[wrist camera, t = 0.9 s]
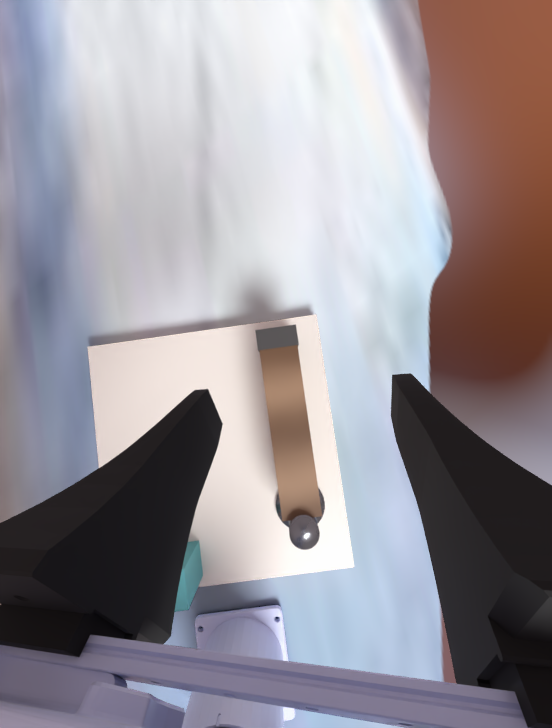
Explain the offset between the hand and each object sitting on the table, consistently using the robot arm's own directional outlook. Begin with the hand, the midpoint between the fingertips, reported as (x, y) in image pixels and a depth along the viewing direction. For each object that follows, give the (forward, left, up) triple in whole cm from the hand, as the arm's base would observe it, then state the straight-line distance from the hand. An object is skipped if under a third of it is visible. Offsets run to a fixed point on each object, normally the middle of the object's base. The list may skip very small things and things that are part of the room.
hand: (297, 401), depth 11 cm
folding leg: (-3, 0, -15) cm, 15 cm away
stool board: (-5, +7, -17) cm, 19 cm away
